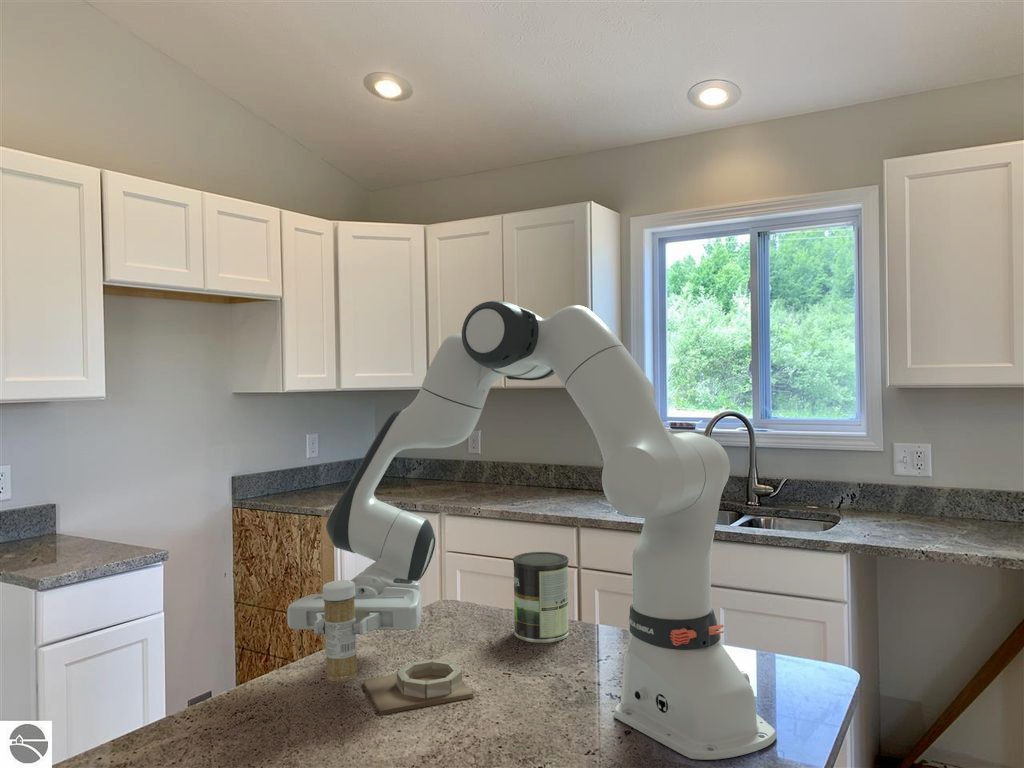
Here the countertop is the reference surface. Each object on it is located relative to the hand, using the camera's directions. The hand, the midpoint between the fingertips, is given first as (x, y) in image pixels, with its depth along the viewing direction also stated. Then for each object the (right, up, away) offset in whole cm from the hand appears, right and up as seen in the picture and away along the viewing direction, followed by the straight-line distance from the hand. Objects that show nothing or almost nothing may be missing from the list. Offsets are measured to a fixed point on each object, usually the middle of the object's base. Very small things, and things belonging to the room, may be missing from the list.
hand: (338, 629), depth 107 cm
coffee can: (+30, -12, +32) cm, 46 cm away
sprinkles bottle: (0, -7, +1) cm, 7 cm away
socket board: (+10, -12, +8) cm, 17 cm away
